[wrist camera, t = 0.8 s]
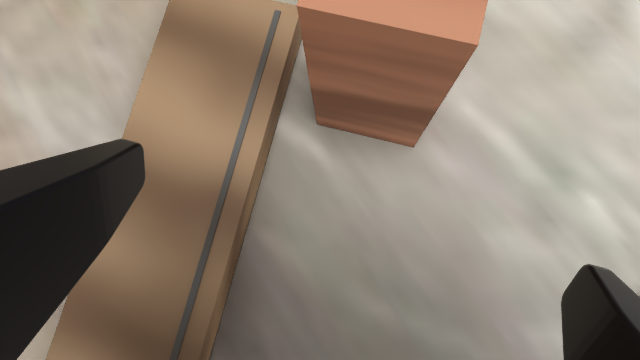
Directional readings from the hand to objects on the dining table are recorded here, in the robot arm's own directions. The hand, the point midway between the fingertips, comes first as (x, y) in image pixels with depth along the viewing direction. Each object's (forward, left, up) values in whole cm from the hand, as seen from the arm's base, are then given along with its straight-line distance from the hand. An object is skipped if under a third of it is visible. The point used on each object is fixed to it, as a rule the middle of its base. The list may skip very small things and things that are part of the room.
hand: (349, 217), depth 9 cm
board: (0, +8, -13) cm, 16 cm away
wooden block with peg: (+10, 0, -13) cm, 16 cm away
